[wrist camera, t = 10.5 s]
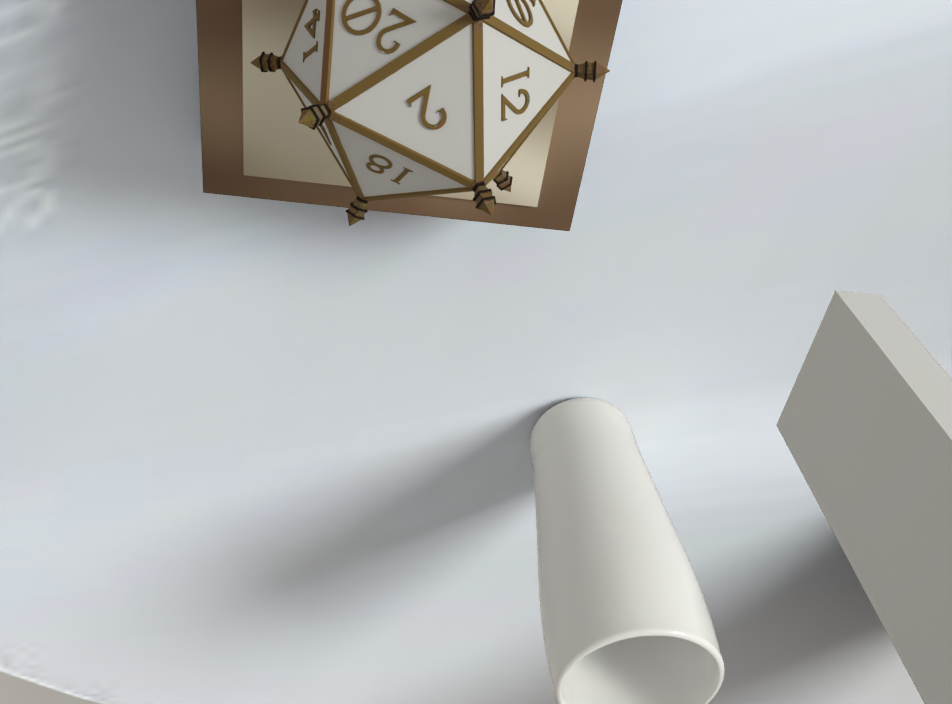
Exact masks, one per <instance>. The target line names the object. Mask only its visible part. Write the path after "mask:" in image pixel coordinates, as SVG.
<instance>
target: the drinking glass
mask: <svg viewBox="0 0 952 704" xmlns="http://www.w3.org/2000/svg"><path fill="white" fill-rule="evenodd" d="M530 449H531V456H532V462H533V469H534V486H535V506H536V529H537V554H538V579H539V598H540V611H541V621H542V629H543V636H544V643H545V649H546V655H547V660H548V665H549V670H550V675H551V680H552V685H553V690H554V695H555V699H556V701H557V704H708V703H709V702H710V701H711V700H712V699H713V697H714V696H715V695H716V694H717V692H718V690H719V689H720V687H721V685H722V682H723V679H724V672H725V671H724V662H723V658H722V655H721V652H720V648H719V644H718V640H717V637H716V633H715V630H714V626H713V623H712V620H711V616H710V613H709V610H708V607H707V604H706V601H705V598H704V596H703V593H702V590H701V587H700V585H699V582H698V580H697V577H696V574H695V572H694V570H693V567H692V565H691V563H690V560H689V558H688V556H687V554H686V551H685V549H684V547H683V545H682V543H681V540H680V538H679V536H678V534H677V532H676V530H675V527H674V525H673V523H672V521H671V519H670V517H669V514H668V512H667V510H666V508H665V506H664V504H663V501H662V499H661V497H660V495H659V493H658V490H657V488H656V486H655V484H654V482H653V479H652V477H651V475H650V473H649V470H648V468H647V466H646V464H645V461H644V459H643V457H642V455H641V452H640V450H639V448H638V445H637V443H636V439H635V436H634V433H633V430H632V427H631V425H630V422H629V421H628V419H627V417H626V416H625V414H624V413H623V412H622V411H621V410H620V409H619V408H617V407H616V406H614V405H613V404H611V403H609V402H607V401H604V400H601V399H596V398H575V399H570V400H567V401H564V402H561V403H559V404H557V405H555V406H553V407H552V408H550V409H549V410H547V411H546V412H545V413H544V414H543V415H542V416H541V417H540V418H539V420H538V421H537V423H536V424H535V426H534V428H533V431H532V434H531V439H530Z"/></svg>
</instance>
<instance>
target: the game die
mask: <svg viewBox="0 0 952 704" xmlns="http://www.w3.org/2000/svg"><path fill="white" fill-rule="evenodd" d="M250 63H251V64H253V65H254V66H256V67H257V68H259V69H260V70H261V72H268V71H269V72H276V70H278V69H281V70H282V71H283V73H284V75H285V76H286V78H287V80H288V81H289V83H290V85H291V86H292V88H293V90H294V91H295V93H296V95H297V96H298V98H299V100H300V101H301V103H302V105H303V106H304V108H301V116H300V119H299V122H298V123H300V124H303V125H306V126H308V127H309V128H311V129H313V130H315V129H316V128H317V130H318V131H319V133H320V135H321V136H322V138H323V140H324V141H325V143H326V145H327V146H328V148H329V150H330V151H331V153H332V155H333V156H334V158H335V160H336V161H337V163H338V165H339V166H340V168H341V170H342V171H343V173H344V175H345V176H346V178H347V180H348V181H349V183H350V185H351V186H352V188H353V190H354V191H355V193H356V195H357V198H356V200H355V201H353V202H351V203H350V205H351V206H350V208H349V209H348V210H346V212H347V213H348V220H349V226H351V225H352V224H354V223H356V222H358V221H359V220H361V219H363V220H364V217H363V216H364V214H365V212H367V209H366V206H367V203H368V201H376V200H386V199H397V198H408V197H418V196H429V195H439V194H450V193H461V192H471V191H474V198H473V201H476V204H477V205H476V209H480V210H483V211H484V212H486V213H488V214H489V215H491V216H493V210H494V205H496V199H495V196H492V190H491V189H488V188H487V187H486V185H487V184H488V183H489V182H490V181H492V180H493V181H494V182H495V183H496V184H497V185H496V186H497V187H498V188H499V189H500V190H501V191H502V190H505V191H509V192H511V185H512V179H513V177H512V176H509V175H508V174H509V172H508V171H504V170H503V168H504V167H505V166H506V165H507V163H508V162H509V161H510V159H511V158H512V157H513V156H514V154H515V153H516V152H517V150H518V149H519V148H520V147H521V145H522V144H523V143H524V141H525V140H526V139H527V138H528V136H529V135H530V134H531V133H532V131H533V130H534V129H535V127H536V126H537V125H538V124H539V122H540V121H541V120H542V118H543V117H544V116H545V115H546V113H547V112H548V111H549V110H550V108H551V107H552V106H553V104H554V103H555V102H556V101H557V99H558V98H559V97H560V95H561V94H562V93H563V92H564V90H565V89H566V88H567V86H568V85H569V84H570V83H571V81H572V80H573V79H574V78H575V77H579V78H582V79H584V81H586V80H593V82H595V80H596V79H598V78H599V77H601V76H603V75H604V74H606V73H607V72H609V71H610V70H608V69H606V68H604V67H603V66H601V65H599V64H598V63H596V61H594V63H588V61H585V63H582V64H575V62H574V60H573V59H572V57H571V55H570V53H569V51H568V49H567V47H566V45H565V43H564V41H563V40H562V38H561V36H560V34H559V32H558V30H557V28H556V26H555V24H554V23H553V21H552V19H551V17H550V15H549V13H548V11H547V9H546V7H545V5H544V4H543V2H542V0H305V2H304V4H303V7H302V9H301V11H300V14H299V16H298V19H297V21H296V23H295V26H294V28H293V31H292V33H291V35H290V38H289V40H288V42H287V45H286V47H285V50H284V52H283V54H282V56H280V57H278V56H275V55H274V54H273V53H272V52H270V54H265V52H262V54H261V55H260V56H259V57H257V58H256V59H254V60H253V61H252V62H250Z"/></svg>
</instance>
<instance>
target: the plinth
mask: <svg viewBox="0 0 952 704" xmlns="http://www.w3.org/2000/svg"><path fill="white" fill-rule="evenodd" d="M304 2H305V0H196V9H197V36H198V62H199V89H200V116H201V142H202V169H203V192H204V193H213V194H223V195H232V196H242V197H251V198H261V199H270V200H279V201H289V202H298V203H308V204H317V205H327V206H336V207H346V208H350V206H351V205H350V203H351V202H353V201H355V200H356V198H357V195H356V193H355V191H354V190H353V188H352V186H351V185H350V183H349V181H348V180H347V178H346V176H345V175H344V173H343V171H342V170H341V168H340V166H339V165H338V163H337V161H336V160H335V158H334V156H333V155H332V153H331V151H330V150H329V148H328V146H327V145H326V143H325V141H324V140H323V138H322V136H321V135H320V133H319V131H318V130H317V128H316V129H315V130H313V129H311V128H309V127H308V126H306V125H303V124H300V123H298V122H299V119H300V116H301V108H304V106H303V105H302V103H301V101H300V100H299V98H298V96H297V95H296V93H295V91H294V90H293V88H292V86H291V85H290V83H289V81H288V80H287V78H286V76H285V75H284V73H283V71H282V70H281V69H278V70H276V72H269V71H268V72H261V70H260V69H259V68H257V67H256V66H254V65H253V64H251V63H250V62H252V61H253V60H254V59H256V58H257V57H259V56H260V55H261V54H262V52H265V54H270V52H272V53H273V54H274V55H275V56H278V57H280V56H282V54H283V52H284V50H285V47H286V45H287V42H288V40H289V38H290V35H291V33H292V31H293V28H294V26H295V23H296V21H297V19H298V16H299V14H300V11H301V9H302V7H303V4H304ZM542 2H543V4H544V5H545V7H546V9H547V11H548V13H549V15H550V17H551V19H552V21H553V23H554V24H555V26H556V28H557V30H558V32H559V34H560V36H561V38H562V40H563V41H564V43H565V45H566V47H567V49H568V51H569V53H570V55H571V57H572V59H573V60H574V62H575V64H582V63H585V61H588V63H594V61H596V63H598V64H599V65H601V66H603V67H604V68H606V69H607V66H608V61H609V57H610V53H611V48H612V44H613V39H614V35H615V31H616V26H617V22H618V18H619V13H620V9H621V5H622V0H542ZM604 79H605V74H604V75H603V76H601V77H599V78H598V79H596V80H595V82H593V80H586V81H584V79H582V78H579V77H575V78H574V79H573V80H572V81H571V83H570V84H569V85H568V86H567V88H566V89H565V90H564V92H563V93H562V94H561V95H560V97H559V98H558V99H557V101H556V102H555V103H554V104H553V106H552V107H551V108H550V110H549V111H548V112H547V113H546V115H545V116H544V117H543V118H542V120H541V121H540V122H539V124H538V125H537V126H536V127H535V129H534V130H533V131H532V133H531V134H530V135H529V136H528V138H527V139H526V140H525V141H524V143H523V144H522V145H521V147H520V148H519V149H518V150H517V152H516V153H515V154H514V156H513V157H512V158H511V159H510V161H509V162H508V163H507V165H506V166H505V167H504V168H503V170H504V171H508V172H509V174H508V175H509V176H512V177H513V179H512V185H511V192H509V191H505V190H502V191H501V190H500V189H499V188H498V187H497V186H496V185H497V184H496V183H495V182H494V181H493V180H492V181H490V182H489V183H488V184H487V185H486V187H487V188H488V189H491V190H492V196H495V199H496V205H494V210H493V216H491V215H489V214H488V213H486V212H484V211H483V210H480V209H476V205H477V204H476V201H473V198H474V191H471V192H461V193H450V194H439V195H429V196H418V197H408V198H397V199H386V200H376V201H368V203H367V206H366V209H367V210H374V211H383V212H393V213H402V214H412V215H421V216H431V217H440V218H450V219H459V220H469V221H478V222H487V223H497V224H506V225H516V226H525V227H535V228H544V229H554V230H563V231H570V227H571V223H572V218H573V214H574V210H575V205H576V201H577V197H578V192H579V188H580V183H581V179H582V175H583V170H584V166H585V162H586V157H587V153H588V149H589V144H590V140H591V135H592V131H593V127H594V122H595V118H596V114H597V109H598V105H599V101H600V96H601V92H602V87H603V83H604Z"/></svg>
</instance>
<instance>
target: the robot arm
mask: <svg viewBox="0 0 952 704" xmlns="http://www.w3.org/2000/svg"><path fill="white" fill-rule="evenodd" d="M777 427H778V429H779V431H780V433H781V435H782V436H783V438H784V440H785V442H786V444H787V446H788V448H789V450H790V451H791V453H792V455H793V457H794V459H795V461H796V463H797V465H798V467H799V468H800V470H801V472H802V474H803V476H804V478H805V480H806V482H807V483H808V485H809V487H810V489H811V491H812V493H813V495H814V497H815V498H816V500H817V502H818V504H819V506H820V508H821V510H822V512H823V513H824V515H825V517H826V519H827V521H828V523H829V525H830V527H831V529H832V530H833V532H834V534H835V536H836V538H837V540H838V542H839V544H840V545H841V547H842V549H843V551H844V553H845V555H846V557H847V559H848V560H849V562H850V564H851V566H852V568H853V570H854V572H855V574H856V576H857V577H858V579H859V581H860V583H861V585H862V587H863V589H864V591H865V592H866V594H867V596H868V598H869V600H870V602H871V604H872V606H873V607H874V609H875V611H876V613H877V615H878V617H879V619H880V621H881V623H882V624H883V626H884V628H885V630H886V632H887V634H888V636H889V638H890V639H891V641H892V643H893V645H894V647H895V649H896V651H897V653H898V654H899V656H900V658H901V660H902V662H903V664H904V666H905V668H906V669H907V671H908V673H909V675H910V677H911V679H912V681H913V683H914V685H915V686H916V688H917V690H918V692H919V694H920V696H921V698H922V700H923V701H924V703H925V704H952V378H951V377H950V376H949V375H948V374H947V372H946V371H945V370H944V369H943V368H942V367H941V365H940V364H939V363H938V362H937V361H936V360H935V358H934V357H933V356H932V355H931V354H930V352H929V351H928V350H927V349H926V348H925V347H924V345H923V344H922V343H921V342H920V341H919V340H918V338H917V337H916V336H915V335H914V334H913V333H912V331H911V330H910V329H909V328H908V327H907V326H906V324H905V323H904V322H903V321H902V320H901V319H900V317H899V316H898V315H897V314H896V313H895V311H894V310H893V309H892V308H891V307H890V306H889V304H888V303H887V302H886V301H885V300H884V299H883V297H882V296H881V295H874V294H865V293H855V292H845V291H836V290H835V293H834V295H833V297H832V299H831V302H830V304H829V306H828V309H827V311H826V313H825V315H824V318H823V320H822V322H821V325H820V327H819V329H818V331H817V334H816V336H815V338H814V341H813V343H812V345H811V347H810V350H809V352H808V354H807V357H806V359H805V361H804V363H803V366H802V368H801V370H800V373H799V375H798V377H797V379H796V382H795V384H794V386H793V389H792V391H791V393H790V395H789V398H788V400H787V402H786V405H785V407H784V409H783V411H782V414H781V416H780V418H779V421H778V423H777Z"/></svg>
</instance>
